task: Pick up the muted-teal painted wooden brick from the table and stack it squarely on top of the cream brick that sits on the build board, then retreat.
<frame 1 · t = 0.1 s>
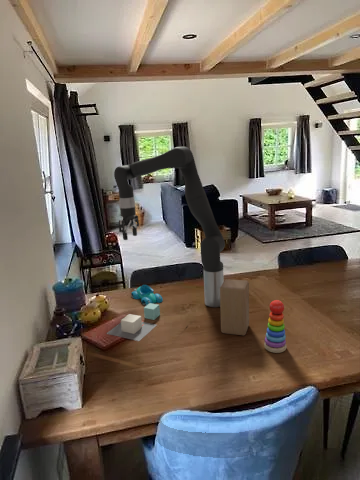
hand: (130, 237, 186), 29 cm above the table, fingers open, 8 cm apart
build board: (132, 331, 152), on the table
cream brick: (132, 329, 152), point 1 cm above the table, touching build board
block: (235, 329, 149), on the table
teal brick: (152, 318, 162), on the table
toy car: (147, 299, 184), on the table
stacking toy: (275, 348, 134), on the table
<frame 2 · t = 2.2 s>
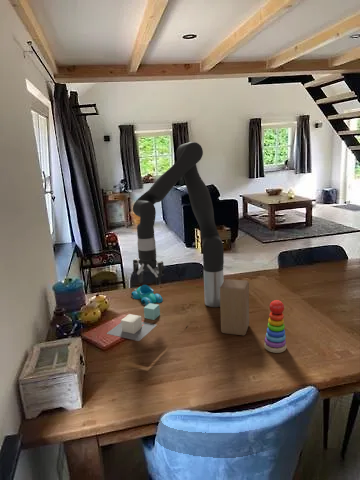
hand: (149, 283, 158), 17 cm above the table, fingers open, 8 cm apart
nothing on the table moved.
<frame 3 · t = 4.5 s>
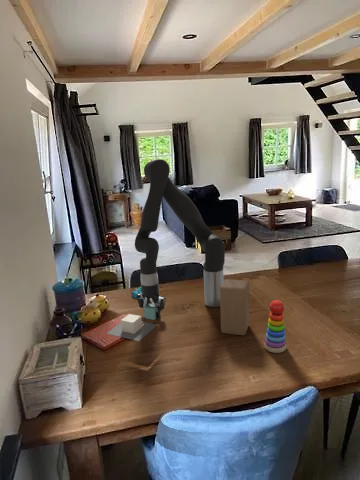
hand: (152, 317, 162), 0 cm above the table, fingers closed on teal brick, 5 cm apart
teal brick: (152, 318, 162), on the table, touching gripper
everything else where it was.
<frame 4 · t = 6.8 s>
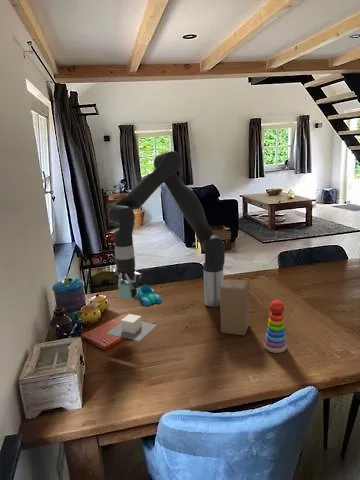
hand: (128, 295, 149), 16 cm above the table, fingers closed on teal brick, 5 cm apart
teal brick: (128, 296, 149), point 15 cm above the table, touching gripper
everything else where it was.
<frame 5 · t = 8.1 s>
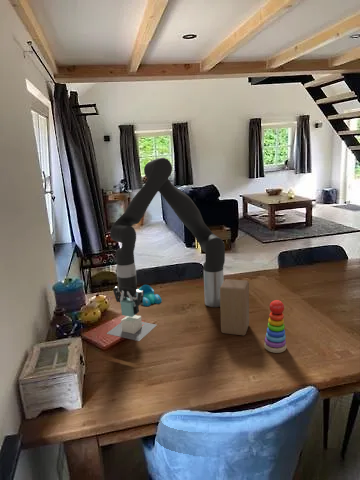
hand: (130, 312, 150), 9 cm above the table, fingers closed on teal brick, 5 cm apart
teal brick: (130, 313, 150), point 8 cm above the table, touching gripper
everything else where it was.
when the fingers open (7 cm above the table, at t = 9.2 s): teal brick stays where it is, resting on cream brick.
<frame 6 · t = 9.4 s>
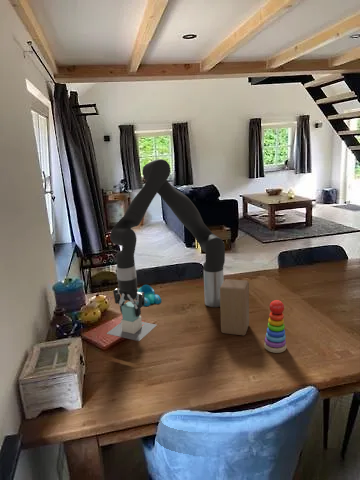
hand: (130, 314, 150), 8 cm above the table, fingers open, 6 cm apart
cream brick: (132, 329, 152), point 1 cm above the table, touching build board, teal brick
teal brick: (131, 318, 151), point 6 cm above the table, touching cream brick
everything else where it was.
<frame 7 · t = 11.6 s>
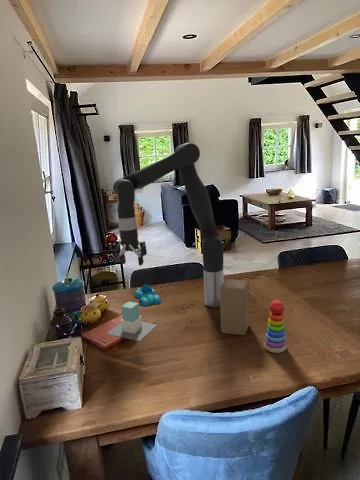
hand: (132, 264, 157), 25 cm above the table, fingers open, 8 cm apart
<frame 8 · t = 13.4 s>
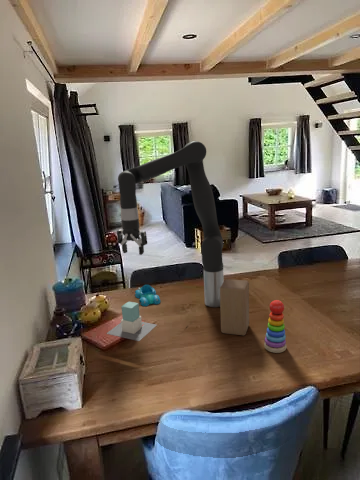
hand: (133, 253, 163), 28 cm above the table, fingers open, 8 cm apart
at the end: teal brick 0.1 cm off-centre on the cream brick, point 5.0 cm above the cream brick's base; teal brick tilted 0°; the gripper is holding nothing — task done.
